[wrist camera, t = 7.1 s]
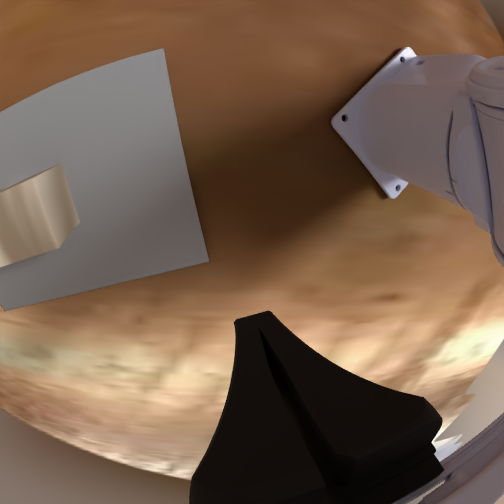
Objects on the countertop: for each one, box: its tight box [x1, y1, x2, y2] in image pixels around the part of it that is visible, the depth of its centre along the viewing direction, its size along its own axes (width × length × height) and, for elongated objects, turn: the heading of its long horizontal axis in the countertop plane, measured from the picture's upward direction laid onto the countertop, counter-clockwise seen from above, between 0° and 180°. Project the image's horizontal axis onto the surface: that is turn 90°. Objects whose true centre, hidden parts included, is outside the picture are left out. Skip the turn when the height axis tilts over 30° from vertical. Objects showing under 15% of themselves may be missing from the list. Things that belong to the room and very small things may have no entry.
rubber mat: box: [0, 49, 209, 311], centre depth 17 cm, size 18×14×1 cm
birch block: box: [0, 163, 80, 267], centre depth 14 cm, size 4×4×9 cm
